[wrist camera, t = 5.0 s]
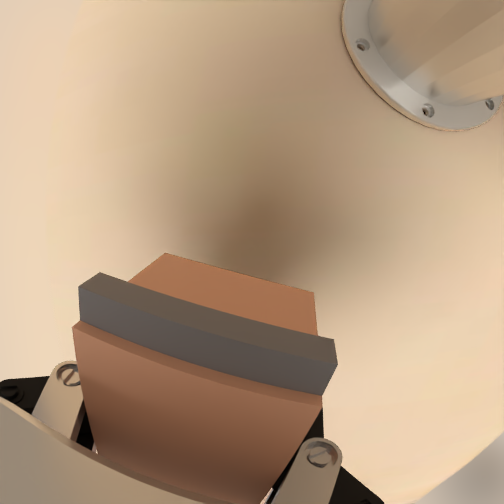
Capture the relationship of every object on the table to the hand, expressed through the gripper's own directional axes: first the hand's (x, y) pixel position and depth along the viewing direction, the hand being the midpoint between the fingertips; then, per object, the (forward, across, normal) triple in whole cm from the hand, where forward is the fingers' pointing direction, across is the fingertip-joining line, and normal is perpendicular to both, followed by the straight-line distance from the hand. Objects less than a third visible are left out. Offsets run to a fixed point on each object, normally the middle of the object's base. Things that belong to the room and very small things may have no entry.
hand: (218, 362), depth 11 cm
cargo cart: (+1, 0, 0) cm, 1 cm away
